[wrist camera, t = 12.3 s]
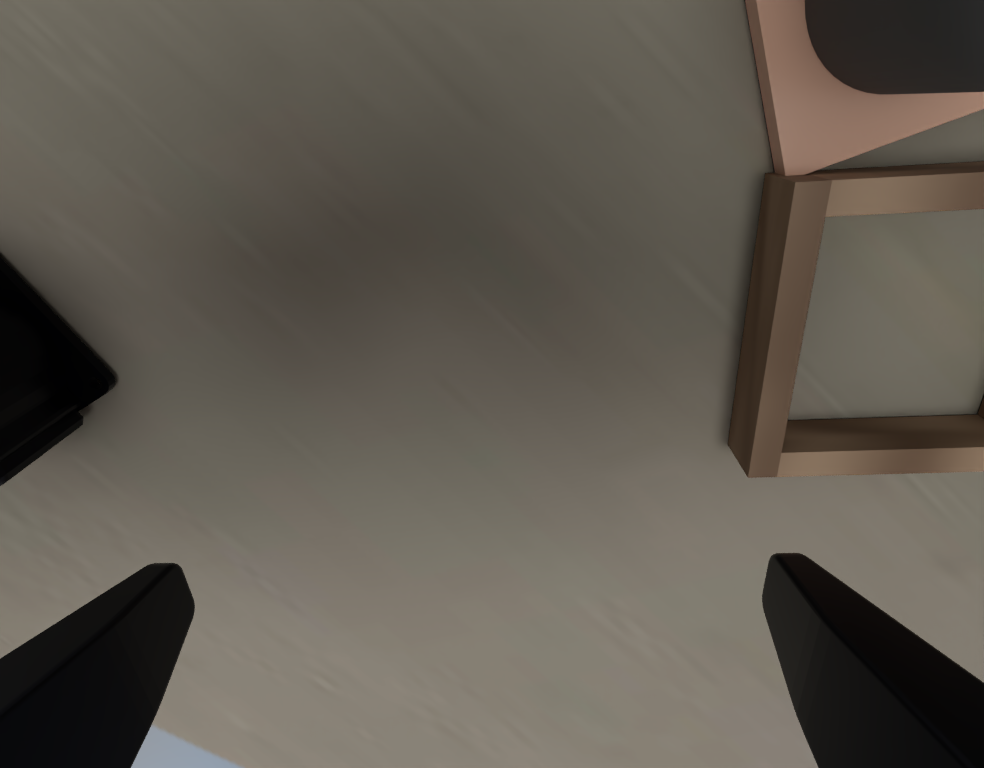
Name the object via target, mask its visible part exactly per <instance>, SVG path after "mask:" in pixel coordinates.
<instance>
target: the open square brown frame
mask: <svg viewBox="0 0 984 768" xmlns="http://www.w3.org/2000/svg"><path fill="white" fill-rule="evenodd" d="M970 209H984V161H980V162H962V163H944V164H926V165H908V166H889V167H871V168H853V169H835V170H817V171H813V172H810V173H808V174H805V175H791V176H785V175H781V174H777V173H765V179H764V187H763V194H762V201H761V208H760V216H759V223H758V230H757V237H756V245H755V252H754V259H753V266H752V273H751V281H750V288H749V295H748V302H747V310H746V317H745V324H744V331H743V339H742V346H741V353H740V360H739V368H738V375H737V382H736V389H735V397H734V404H733V411H732V418H731V425H730V433H729V440H728V446H729V447H730V449H731V451H732V452H733V454H734V456H735V457H736V459H737V460H738V462H739V464H740V465H741V467H742V469H743V470H744V472H745V473H746V475H747V477H748V478H753V477H791V476H829V475H867V474H905V473H943V472H981V471H984V398H983V400H982V403H981V406H980V409H979V412H978V415H949V416H917V417H885V418H853V419H822V420H790V421H787V420H788V415H789V409H790V404H791V399H792V393H793V388H794V383H795V377H796V372H797V366H798V361H799V356H800V350H801V345H802V340H803V334H804V329H805V323H806V318H807V313H808V307H809V302H810V297H811V291H812V286H813V280H814V275H815V270H816V264H817V259H818V254H819V248H820V243H821V237H822V232H823V227H824V221H825V217H832V216H852V215H872V214H891V213H911V212H931V211H950V210H970Z"/></svg>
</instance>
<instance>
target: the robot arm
mask: <svg viewBox="0 0 984 768" xmlns="http://www.w3.org/2000/svg"><path fill="white" fill-rule="evenodd" d="M96 378H98V379H99V380H100V381H101V382H102V384H100V383H98V382H97V380H96ZM115 382H116V381H115V378H114V376H113V374H112V373H111V372H110V371H109V370H108V369H107V368H106V367H105V366H104V365H103V364H102V363H101V362H100V360H99V359H98V358H97V357H96V356H95V355H94V354H93V353H92V352H91V351H90V350H89V349H88V348H87V347H86V346H85V345H84V344H83V343H82V342H81V341H80V340H79V339H78V338H77V336H76V335H75V334H74V333H73V332H72V331H71V330H70V329H69V328H68V327H67V326H66V325H65V324H64V323H63V322H62V321H61V320H60V319H59V318H58V317H57V316H56V315H55V314H54V312H53V311H52V310H51V309H50V308H49V307H48V306H47V305H46V304H45V303H44V302H43V301H42V300H41V299H40V298H39V297H38V296H37V295H36V294H35V293H34V292H33V291H32V290H31V289H30V287H29V286H28V285H27V284H26V283H25V282H24V281H23V280H22V279H21V278H20V277H19V276H18V275H17V274H16V273H15V272H14V271H13V270H12V269H11V268H10V267H9V266H8V265H7V263H6V262H5V261H4V260H3V259H2V258H1V257H0V486H1V485H2V484H4V483H5V482H7V481H8V480H10V479H11V478H12V477H14V476H15V475H16V474H18V473H19V472H20V471H22V470H23V469H24V468H26V467H27V466H28V465H30V464H31V463H32V462H34V461H35V460H36V459H38V458H39V457H40V456H42V455H43V454H44V453H46V452H47V451H48V450H50V449H51V448H52V447H53V446H55V445H56V444H57V443H59V442H60V441H61V440H63V439H64V438H65V437H67V436H68V435H69V434H71V433H72V432H73V431H75V430H76V429H77V428H79V427H80V426H81V425H83V416H82V415H81V414H80V413H79V412H78V411H80V410H81V409H83V408H84V407H86V406H88V405H89V404H91V403H92V402H94V401H95V400H97V399H98V398H100V397H101V396H103V395H104V394H106V393H107V392H109V391H110V390H111V389H113V387H114V386H115ZM762 603H763V609H764V613H765V616H766V620H767V623H768V626H769V629H770V633H771V636H772V639H773V642H774V645H775V649H776V652H777V655H778V658H779V662H780V665H781V668H782V671H783V675H784V678H785V681H786V684H787V687H788V691H789V694H790V697H791V700H792V703H793V706H794V709H795V712H796V715H797V717H798V720H799V722H800V725H801V727H802V730H803V732H804V735H805V737H806V740H807V742H808V744H809V747H810V749H811V751H812V754H813V756H814V758H815V761H816V763H817V765H818V768H984V683H983V682H982V681H981V680H979V679H978V678H976V677H975V676H974V675H972V674H971V673H969V672H968V671H967V670H965V669H964V668H962V667H961V666H960V665H958V664H957V663H955V662H954V661H953V660H951V659H950V658H948V657H947V656H946V655H944V654H943V653H941V652H940V651H939V650H937V649H936V648H934V647H933V646H931V645H930V644H929V643H927V642H926V641H924V640H923V639H922V638H920V637H919V636H917V635H916V634H915V633H913V632H912V631H910V630H909V629H908V628H906V627H905V626H903V625H902V624H901V623H899V622H898V621H896V620H895V619H894V618H892V617H891V616H889V615H888V614H887V613H885V612H884V611H882V610H881V609H880V608H878V607H877V606H875V605H874V604H873V603H871V602H870V601H868V600H867V599H865V598H864V597H863V596H861V595H860V594H858V593H857V592H856V591H854V590H853V589H851V588H850V587H849V586H847V585H846V584H844V583H843V582H842V581H840V580H839V579H837V578H836V577H835V576H833V575H832V574H830V573H829V572H828V571H826V570H825V569H823V568H822V567H821V566H819V565H818V564H816V563H815V562H814V561H812V560H811V559H809V558H808V557H806V556H805V555H803V554H800V553H776V554H773V555H772V556H771V557H770V560H769V563H768V568H767V573H766V578H765V583H764V588H763V594H762ZM194 609H195V605H194V599H193V596H192V594H191V591H190V589H189V586H188V583H187V581H186V578H185V575H184V573H183V570H182V568H181V567H180V566H179V565H178V564H175V563H154V564H150V565H147V566H146V567H144V568H142V569H141V570H139V571H138V572H136V573H134V574H133V575H131V576H130V577H128V578H127V579H125V580H123V581H122V582H120V583H119V584H117V585H116V586H114V587H112V588H111V589H109V590H108V591H106V592H105V593H103V594H101V595H100V596H98V597H97V598H95V599H94V600H92V601H90V602H89V603H87V604H86V605H84V606H83V607H81V608H79V609H78V610H76V611H75V612H73V613H71V614H70V615H68V616H67V617H65V618H64V619H62V620H60V621H59V622H57V623H56V624H54V625H53V626H51V627H49V628H48V629H46V630H45V631H43V632H42V633H40V634H38V635H37V636H35V637H34V638H32V639H31V640H29V641H27V642H26V643H24V644H23V645H21V646H20V647H18V648H16V649H15V650H13V651H12V652H10V653H8V654H7V655H5V656H4V657H2V658H1V659H0V768H131V766H132V764H133V762H134V760H135V758H136V756H137V754H138V751H139V749H140V748H141V745H142V743H143V741H144V739H145V737H146V735H147V733H148V731H149V729H150V727H151V724H152V722H153V720H154V718H155V716H156V714H157V711H158V709H159V706H160V704H161V701H162V699H163V696H164V694H165V691H166V688H167V686H168V683H169V680H170V678H171V675H172V672H173V670H174V667H175V664H176V662H177V659H178V656H179V654H180V651H181V648H182V646H183V643H184V640H185V638H186V635H187V632H188V630H189V627H190V624H191V622H192V619H193V616H194Z"/></svg>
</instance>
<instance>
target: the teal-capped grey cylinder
mask: <svg viewBox="0 0 984 768" xmlns="http://www.w3.org/2000/svg"><path fill="white" fill-rule="evenodd" d="M805 18H806V23H807V29H808V34H809V37H810V40H811V43H812V46H813V48H814V50H815V52H816V54H817V56H818V58H819V59H820V61H821V62H822V64H823V65H824V66H825V68H826V69H827V70H828V71H829V72H830V73H831V74H832V75H833V76H834V77H835V78H837V79H838V80H840V81H841V82H842V83H844V84H846V85H848V86H850V87H852V88H854V89H856V90H860V91H863V92H866V93H872V94H926V93H962V92H984V0H805Z"/></svg>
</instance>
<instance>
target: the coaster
mask: <svg viewBox="0 0 984 768" xmlns="http://www.w3.org/2000/svg"><path fill="white" fill-rule="evenodd" d="M745 3H746V9H747V14H748V20H749V26H750V32H751V37H752V43H753V49H754V55H755V60H756V66H757V72H758V78H759V83H760V89H761V95H762V101H763V106H764V112H765V118H766V124H767V129H768V135H769V141H770V147H771V152H772V158H773V164H774V170H775V173H777V174H781V175H785V176H791V175H805V174H808V173H810V172H813V171H816V170H819V169H821V168H824V167H827V166H830V165H832V164H835V163H838V162H840V161H843V160H846V159H849V158H851V157H854V156H857V155H859V154H862V153H865V152H868V151H870V150H873V149H876V148H878V147H881V146H884V145H887V144H889V143H892V142H895V141H898V140H900V139H903V138H906V137H908V136H911V135H914V134H917V133H919V132H922V131H925V130H927V129H930V128H933V127H936V126H938V125H941V124H944V123H947V122H949V121H952V120H955V119H957V118H960V117H963V116H966V115H968V114H971V113H974V112H976V111H979V110H982V109H984V92H962V93H926V94H872V93H866V92H863V91H860V90H856V89H854V88H852V87H850V86H848V85H846V84H844V83H842V82H841V81H840V80H838V79H837V78H835V77H834V76H833V75H832V74H831V73H830V72H829V71H828V70H827V69H826V68H825V66H824V65H823V64H822V62H821V61H820V59H819V58H818V56H817V54H816V52H815V50H814V48H813V46H812V43H811V40H810V37H809V34H808V29H807V23H806V18H805V0H745Z"/></svg>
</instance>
